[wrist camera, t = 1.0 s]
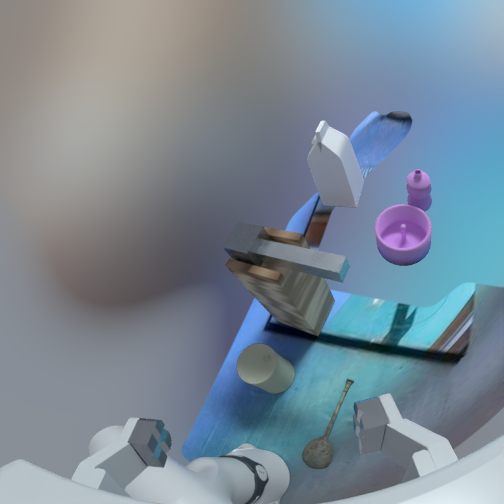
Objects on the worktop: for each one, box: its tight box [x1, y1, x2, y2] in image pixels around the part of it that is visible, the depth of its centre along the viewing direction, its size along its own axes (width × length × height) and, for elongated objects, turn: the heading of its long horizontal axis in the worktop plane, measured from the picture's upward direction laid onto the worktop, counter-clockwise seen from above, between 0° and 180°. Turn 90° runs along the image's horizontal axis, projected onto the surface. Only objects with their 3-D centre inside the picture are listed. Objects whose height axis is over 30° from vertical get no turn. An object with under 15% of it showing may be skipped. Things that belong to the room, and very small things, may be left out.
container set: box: [375, 169, 432, 266], centre depth 66 cm, size 25×15×13 cm, turn 139°
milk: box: [307, 121, 364, 207], centre depth 80 cm, size 12×12×26 cm
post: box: [226, 227, 335, 336], centre depth 62 cm, size 12×10×27 cm
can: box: [237, 343, 295, 394], centre depth 60 cm, size 9×9×12 cm
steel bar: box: [223, 223, 349, 283], centre depth 49 cm, size 22×6×5 cm, turn 58°
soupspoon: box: [303, 378, 354, 469], centre depth 51 cm, size 22×3×7 cm
